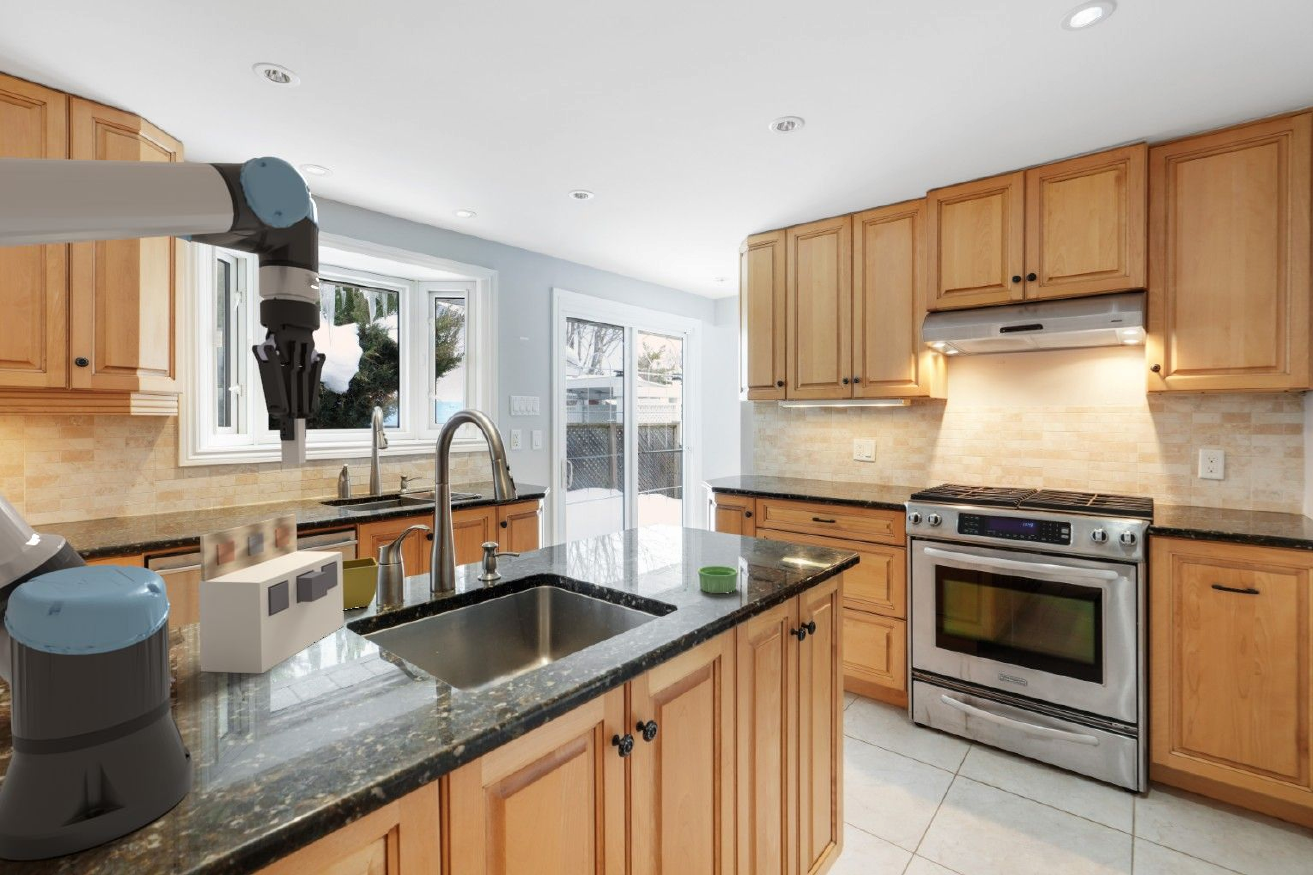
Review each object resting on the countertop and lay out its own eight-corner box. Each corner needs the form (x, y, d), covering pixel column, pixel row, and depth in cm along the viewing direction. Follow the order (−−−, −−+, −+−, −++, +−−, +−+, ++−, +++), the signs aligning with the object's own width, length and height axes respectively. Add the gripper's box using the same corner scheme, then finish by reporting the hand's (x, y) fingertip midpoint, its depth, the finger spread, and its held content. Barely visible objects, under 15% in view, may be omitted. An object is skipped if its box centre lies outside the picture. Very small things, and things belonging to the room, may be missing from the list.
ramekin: (725, 582, 145) (725, 564, 145) (745, 592, 136) (745, 572, 136) (691, 586, 141) (691, 567, 141) (710, 597, 133) (710, 577, 133)
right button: (323, 590, 108) (323, 567, 108) (306, 590, 108) (306, 567, 108) (337, 584, 112) (337, 562, 112) (320, 583, 112) (320, 562, 112)
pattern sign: (206, 581, 94) (205, 536, 93) (201, 581, 94) (200, 535, 94) (298, 551, 115) (297, 513, 114) (294, 551, 115) (293, 513, 114)
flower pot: (330, 616, 120) (329, 570, 120) (328, 604, 128) (327, 561, 128) (379, 609, 125) (378, 565, 124) (374, 598, 132) (374, 556, 132)
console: (262, 673, 94) (259, 582, 93) (200, 671, 94) (198, 581, 94) (343, 626, 114) (342, 551, 114) (293, 624, 115) (291, 550, 115)
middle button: (312, 601, 101) (311, 578, 101) (293, 601, 102) (293, 577, 102) (327, 594, 105) (326, 571, 105) (309, 594, 106) (309, 571, 106)
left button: (271, 614, 95) (270, 588, 95) (252, 613, 95) (251, 588, 95) (289, 606, 99) (288, 581, 99) (270, 605, 99) (269, 581, 99)
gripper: (283, 292, 83) (287, 466, 83) (341, 309, 96) (344, 459, 96) (231, 293, 83) (236, 466, 84) (296, 309, 96) (299, 459, 97)
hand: (293, 462), depth 90 cm, fingers closed
